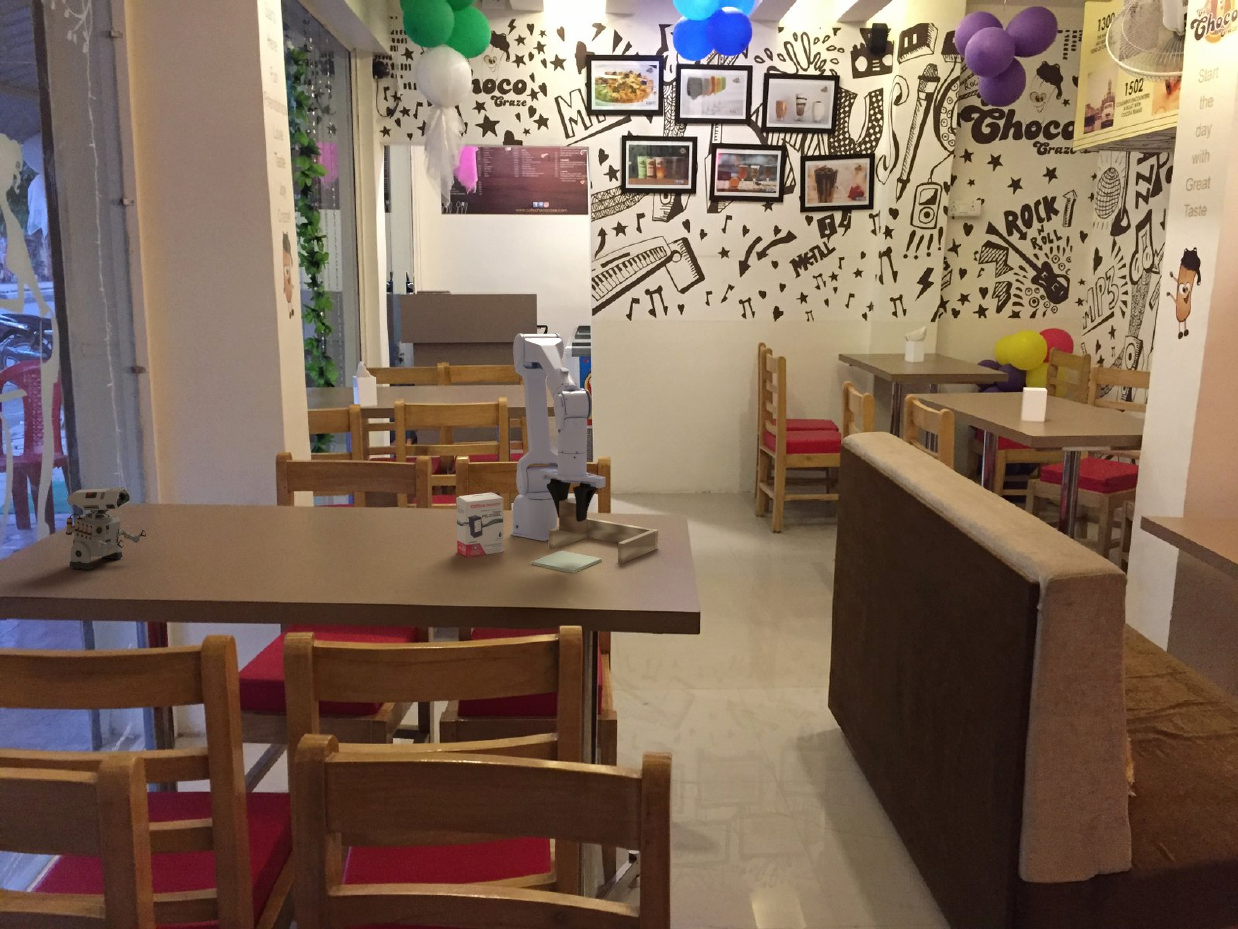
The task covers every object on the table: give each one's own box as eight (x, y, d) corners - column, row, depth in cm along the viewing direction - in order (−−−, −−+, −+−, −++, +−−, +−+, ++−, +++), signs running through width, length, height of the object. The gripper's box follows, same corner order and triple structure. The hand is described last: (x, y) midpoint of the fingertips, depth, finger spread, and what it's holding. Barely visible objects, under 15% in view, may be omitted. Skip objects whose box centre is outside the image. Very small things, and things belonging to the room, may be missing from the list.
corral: (548, 548, 210) (548, 530, 209) (585, 535, 221) (586, 517, 221) (623, 563, 200) (623, 543, 199) (657, 548, 212) (658, 529, 211)
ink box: (466, 558, 202) (466, 500, 200) (456, 552, 206) (455, 496, 204) (504, 552, 207) (504, 496, 204) (493, 546, 211) (493, 491, 209)
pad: (531, 564, 198) (531, 561, 198) (561, 553, 206) (561, 550, 206) (573, 573, 193) (573, 570, 193) (601, 561, 201) (601, 558, 201)
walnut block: (558, 530, 199) (559, 500, 198) (570, 526, 203) (570, 497, 202) (575, 533, 197) (575, 503, 196) (586, 529, 201) (587, 500, 200)
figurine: (114, 573, 187) (108, 495, 184) (63, 568, 190) (56, 491, 187) (148, 561, 196) (143, 485, 193) (98, 555, 199) (93, 481, 196)
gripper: (530, 450, 197) (530, 517, 200) (591, 458, 190) (590, 528, 192) (551, 445, 203) (551, 511, 206) (611, 453, 196) (610, 521, 198)
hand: (571, 518), depth 199 cm, fingers closed on walnut block, 4 cm apart
